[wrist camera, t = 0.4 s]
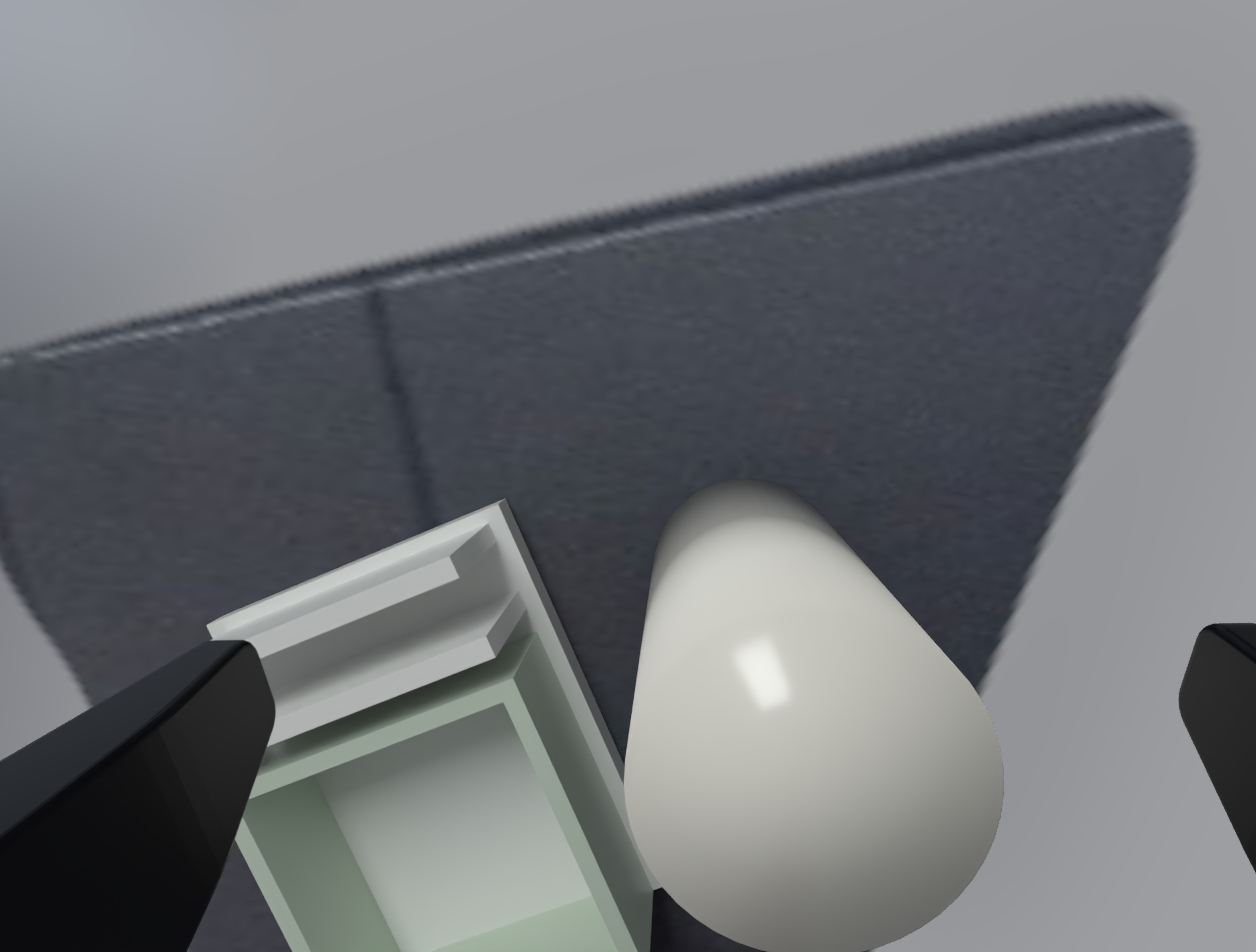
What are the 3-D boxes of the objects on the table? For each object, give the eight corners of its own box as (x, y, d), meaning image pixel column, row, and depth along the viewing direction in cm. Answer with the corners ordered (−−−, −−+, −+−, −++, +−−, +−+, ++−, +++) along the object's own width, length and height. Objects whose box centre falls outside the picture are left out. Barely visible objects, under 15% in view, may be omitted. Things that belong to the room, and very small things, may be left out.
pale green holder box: (668, 865, 26) (665, 984, 21) (395, 959, 27) (331, 1093, 22) (505, 498, 24) (460, 533, 19) (224, 615, 26) (115, 676, 21)
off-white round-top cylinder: (760, 692, 25) (838, 1023, 12) (616, 584, 25) (551, 812, 12) (877, 554, 24) (1085, 762, 12) (729, 441, 24) (781, 529, 11)
